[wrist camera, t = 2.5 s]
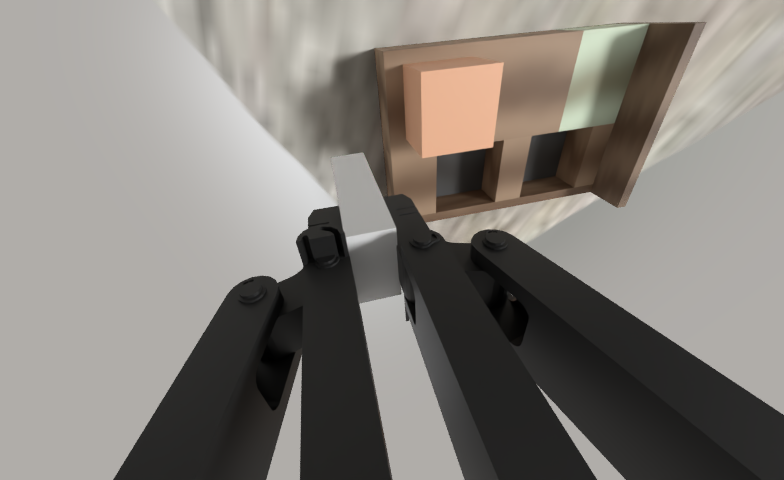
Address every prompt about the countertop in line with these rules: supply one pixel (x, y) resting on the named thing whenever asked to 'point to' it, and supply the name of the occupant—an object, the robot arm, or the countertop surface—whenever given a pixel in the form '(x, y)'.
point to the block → (451, 104)
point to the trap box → (543, 116)
